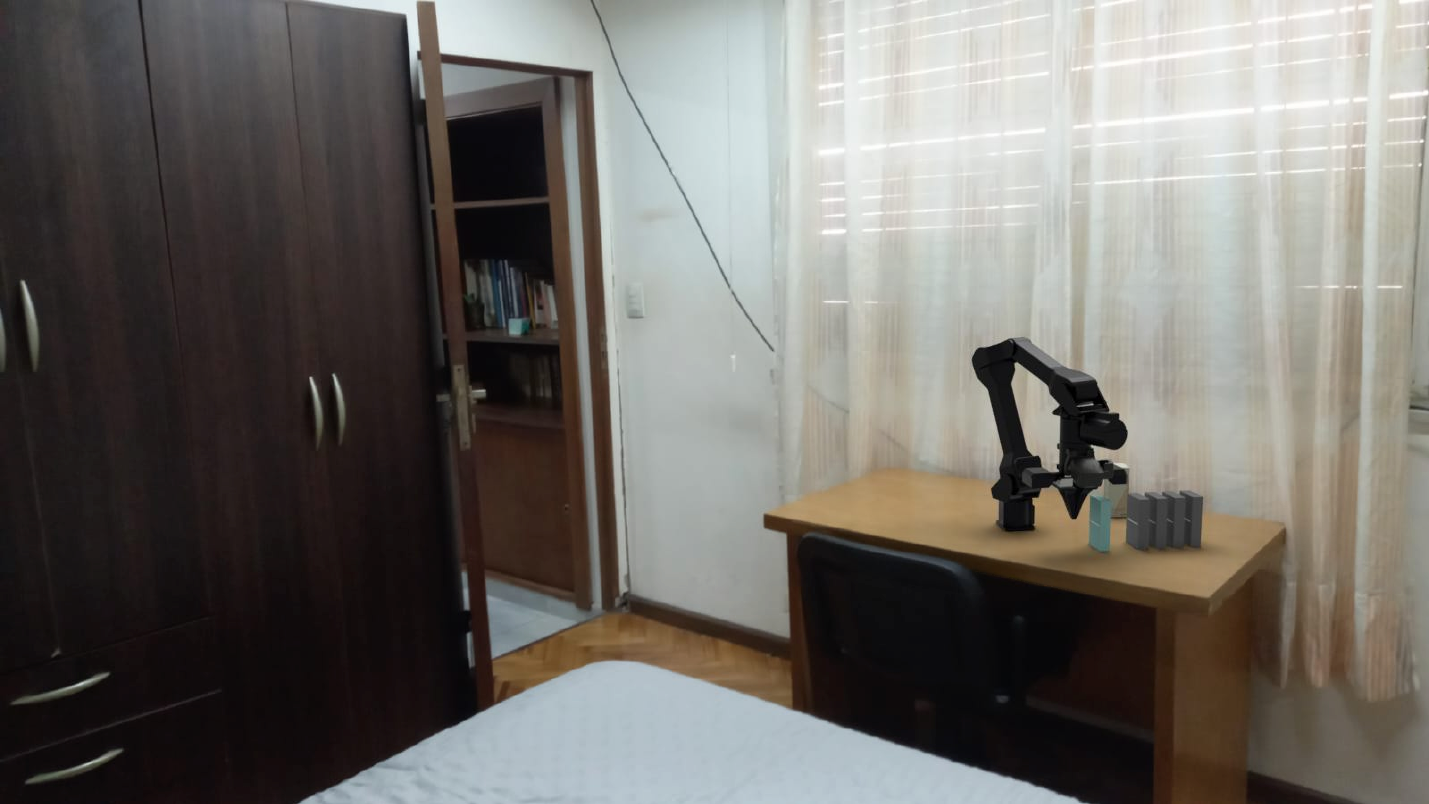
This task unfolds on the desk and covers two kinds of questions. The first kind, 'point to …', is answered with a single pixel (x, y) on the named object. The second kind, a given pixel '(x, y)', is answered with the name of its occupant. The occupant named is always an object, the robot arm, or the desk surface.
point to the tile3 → (1157, 520)
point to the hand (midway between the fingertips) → (1073, 519)
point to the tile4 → (1175, 519)
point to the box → (1117, 495)
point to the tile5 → (1192, 518)
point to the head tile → (1100, 522)
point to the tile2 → (1137, 521)
